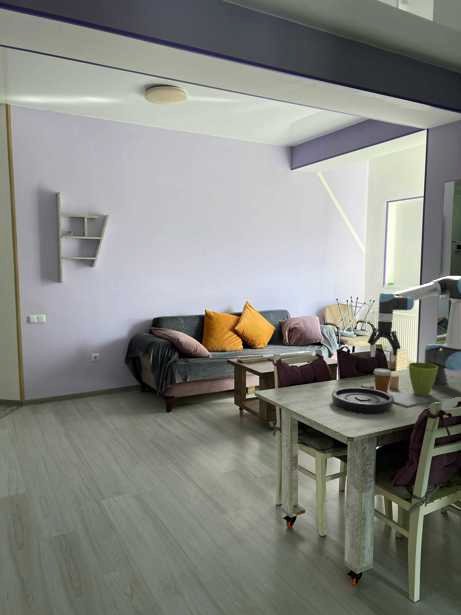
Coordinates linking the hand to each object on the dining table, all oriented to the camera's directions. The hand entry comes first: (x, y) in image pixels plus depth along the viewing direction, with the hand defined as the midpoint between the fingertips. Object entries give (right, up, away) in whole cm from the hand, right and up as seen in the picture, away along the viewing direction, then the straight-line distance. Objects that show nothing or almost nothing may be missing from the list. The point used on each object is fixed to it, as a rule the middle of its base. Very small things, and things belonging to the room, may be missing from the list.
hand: (382, 358), depth 264 cm
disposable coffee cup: (0, -19, +2) cm, 19 cm away
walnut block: (-10, -19, -5) cm, 22 cm away
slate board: (+7, -20, -15) cm, 26 cm away
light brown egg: (+9, -18, +9) cm, 22 cm away
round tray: (-18, -21, -24) cm, 37 cm away
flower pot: (+21, -19, -2) cm, 28 cm away
